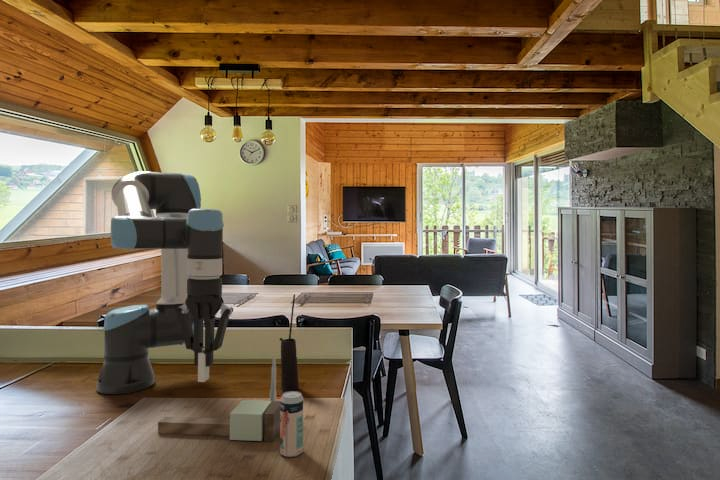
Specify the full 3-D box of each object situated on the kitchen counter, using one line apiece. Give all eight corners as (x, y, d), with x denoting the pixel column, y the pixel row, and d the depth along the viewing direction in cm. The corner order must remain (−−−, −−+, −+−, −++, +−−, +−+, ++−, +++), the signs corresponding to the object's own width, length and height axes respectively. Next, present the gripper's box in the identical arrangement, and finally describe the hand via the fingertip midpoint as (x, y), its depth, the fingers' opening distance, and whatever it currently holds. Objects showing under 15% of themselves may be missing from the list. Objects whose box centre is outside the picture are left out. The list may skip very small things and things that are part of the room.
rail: (153, 437, 95) (153, 410, 95) (169, 423, 102) (169, 398, 102) (273, 441, 93) (273, 414, 93) (281, 427, 100) (281, 401, 100)
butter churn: (263, 390, 125) (263, 294, 125) (286, 381, 133) (286, 290, 133) (286, 397, 120) (286, 296, 120) (308, 387, 127) (309, 293, 127)
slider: (229, 439, 94) (229, 413, 94) (242, 424, 101) (242, 399, 101) (261, 440, 93) (261, 414, 93) (271, 425, 101) (271, 400, 101)
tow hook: (268, 400, 119) (254, 412, 109) (270, 349, 119) (256, 357, 110) (300, 402, 117) (288, 415, 108) (301, 351, 118) (290, 359, 108)
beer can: (280, 447, 91) (281, 390, 91) (303, 446, 91) (304, 390, 91) (278, 459, 86) (278, 399, 86) (302, 458, 86) (302, 398, 86)
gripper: (168, 278, 95) (167, 384, 95) (226, 279, 94) (225, 387, 94) (184, 274, 102) (183, 373, 103) (238, 276, 101) (237, 375, 102)
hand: (203, 379), depth 99 cm, fingers closed
